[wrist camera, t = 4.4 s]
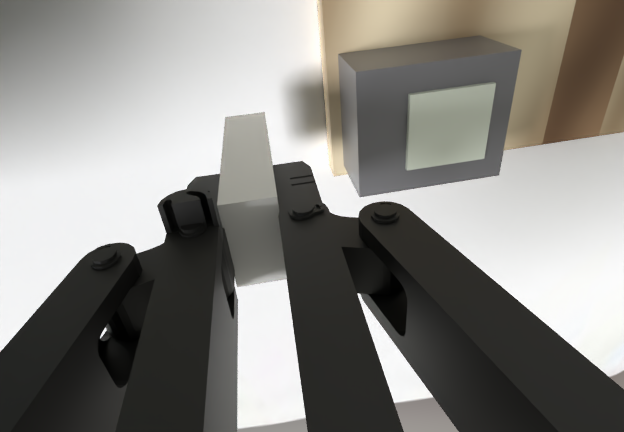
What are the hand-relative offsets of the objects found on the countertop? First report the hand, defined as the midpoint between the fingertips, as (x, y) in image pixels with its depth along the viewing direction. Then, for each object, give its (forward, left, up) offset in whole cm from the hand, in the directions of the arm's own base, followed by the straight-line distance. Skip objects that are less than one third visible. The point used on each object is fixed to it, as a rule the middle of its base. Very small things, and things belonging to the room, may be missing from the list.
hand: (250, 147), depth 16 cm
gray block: (+7, 0, -2) cm, 7 cm away
